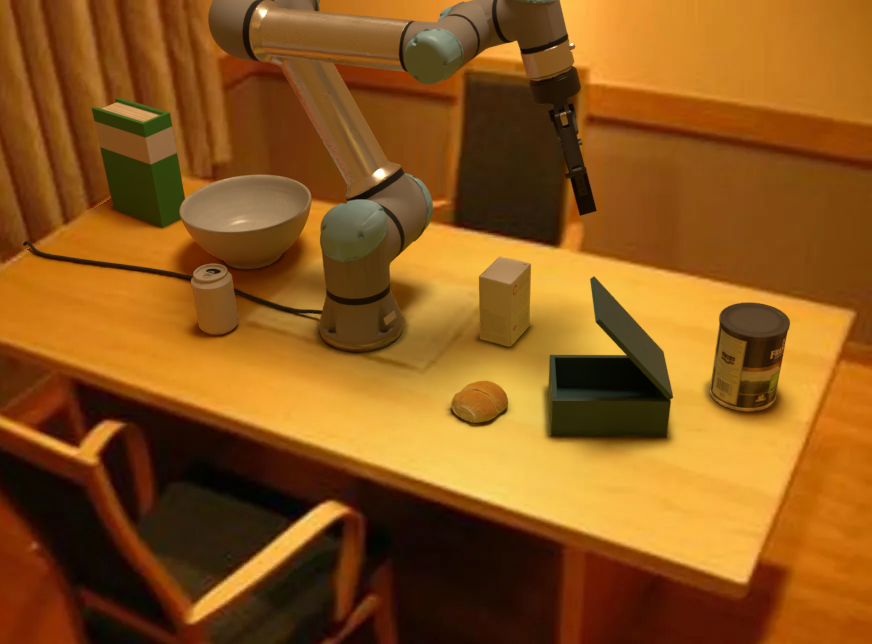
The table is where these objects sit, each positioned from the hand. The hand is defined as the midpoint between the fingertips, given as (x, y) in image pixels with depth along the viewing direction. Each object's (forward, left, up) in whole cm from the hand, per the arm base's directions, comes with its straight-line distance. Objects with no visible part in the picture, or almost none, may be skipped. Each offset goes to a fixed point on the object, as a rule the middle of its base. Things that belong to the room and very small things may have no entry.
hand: (584, 199), depth 175 cm
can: (-66, +3, -27) cm, 71 cm away
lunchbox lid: (+6, -22, -13) cm, 26 cm away
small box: (-13, +1, -27) cm, 30 cm away
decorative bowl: (-65, +31, -27) cm, 77 cm away
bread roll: (-17, -22, -27) cm, 38 cm away
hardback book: (-93, +52, -27) cm, 110 cm away
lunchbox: (+3, -22, -27) cm, 35 cm away
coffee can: (+25, -17, -27) cm, 40 cm away
